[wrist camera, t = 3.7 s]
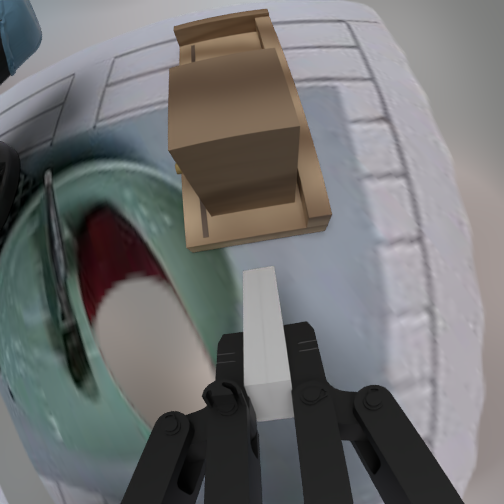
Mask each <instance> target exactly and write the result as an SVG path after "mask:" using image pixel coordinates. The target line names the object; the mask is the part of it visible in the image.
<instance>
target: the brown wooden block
mask: <svg viewBox="0 0 504 504" xmlns="http://www.w3.org/2000/svg"><path fill="white" fill-rule="evenodd" d="M299 137H300V124H299V120H298V117H297V114H296V110H295V107H294V104H293V101H292V97H291V94H290V91H289V88H288V85H287V82H286V79H285V76H284V73H283V70H282V67H281V64H280V61H279V58H278V55H277V52H276V49H275V48H267V49H260V50H253V51H246V52H240V53H234V54H229V55H224V56H219V57H214V58H209V59H204V60H200V61H196V62H192V63H188V64H184V65H180V66H176V67H172V68H170V69H169V98H168V151H169V153H170V154H171V156H172V157H173V159H174V160H175V162H176V164H175V168H176V172H177V174H182V173H183V174H184V176H185V177H186V179H187V180H188V182H189V183H190V185H191V186H192V188H193V190H194V191H195V193H196V194H197V196H198V197H199V199H200V200H201V202H202V203H203V205H204V206H205V208H206V209H207V211H208V212H209V214H210V215H211V217H212V216H218V215H223V214H229V213H234V212H240V211H246V210H252V209H257V208H263V207H269V206H276V205H282V204H288V203H294V202H295V193H296V180H297V167H298V152H299Z"/></svg>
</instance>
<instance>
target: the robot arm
mask: <svg viewBox="0 0 504 504" xmlns="http://www.w3.org/2000/svg"><path fill="white" fill-rule="evenodd" d="M41 40H42V31H41V27H40V25H39V22H38V20H37V17H36V15H35V12H34V10H33V8H32V5H31V3H30V1H29V0H0V85H1V84H2V83H3V82H4V81H5V80H6V79H7V78H8V77H9V76H10V75H11V76H13V75H14V74H15V73H16V70H17V69H18V68H19V67H20V66H21V65H22V64H23V63H24V62H25V61H26V60H27V59H28V58H29V57H30V56H31V55H32V54H34V53H35V52H36V50H37V49H38V48H39V46H40V44H41ZM19 173H20V161H19V156H18V154H17V152H16V151H15V150H14V149H13V148H12V147H10V146H9V145H8V144H6V143H5V142H3V141H0V230H1V228H2V226H3V224H4V222H5V220H6V218H7V216H8V213H9V211H10V208H11V206H12V203H13V200H14V197H15V193H16V190H17V186H18V181H19ZM202 397H203V399H204V401H205V403H206V404H207V406H206V407H205V408H203V409H201V410H199V411H196V412H194V413H191V414H188V415H184V414H183V413H180V412H177V411H175V412H174V411H171V412H167V413H165V414H163V415H162V416H160V417H159V419H158V420H157V421H156V423H155V425H154V428H153V430H152V432H151V434H150V437H149V439H148V441H147V444H146V446H145V448H144V450H143V453H142V455H141V457H140V460H139V462H138V464H137V467H136V469H135V471H134V474H133V476H132V478H131V481H130V483H129V485H128V488H127V490H126V492H125V495H124V497H123V500H122V502H121V504H195V503H196V500H197V497H198V494H199V490H200V487H201V484H202V481H203V478H204V475H205V493H204V504H262V486H261V467H260V447H259V434H258V430H257V424H256V419H257V421H258V422H262V421H270V420H278V419H286V418H293V417H294V418H295V427H296V435H297V443H298V451H299V460H300V469H301V477H302V486H303V495H304V504H353V499H352V493H351V487H350V482H349V477H348V471H347V466H346V461H345V456H344V451H343V446H342V441H341V440H349V441H351V443H352V445H353V447H354V448H355V450H356V452H357V454H358V456H359V458H360V459H361V461H362V463H363V465H364V467H365V469H366V470H367V472H368V474H369V476H370V478H371V480H372V481H373V483H374V485H375V487H376V489H377V490H378V492H379V494H380V496H381V498H382V500H383V501H384V503H385V504H464V502H463V501H462V499H461V498H460V496H459V494H458V493H457V491H456V490H455V488H454V487H453V485H452V483H451V482H450V480H449V479H448V477H447V476H446V474H445V473H444V471H443V470H442V468H441V467H440V465H439V464H438V462H437V460H436V459H435V457H434V456H433V454H432V453H431V451H430V450H429V448H428V447H427V445H426V444H425V442H424V441H423V440H422V438H421V437H420V435H419V434H418V432H417V431H416V429H415V428H414V426H413V425H412V423H411V422H410V420H409V419H408V417H407V416H406V415H405V413H404V412H403V410H402V409H401V407H400V406H399V404H398V403H397V402H396V400H395V399H394V397H393V396H392V394H391V393H390V392H389V391H388V390H387V389H386V388H384V387H382V386H379V385H370V386H366V387H364V388H362V389H361V390H359V391H358V392H348V391H341V390H338V389H335V388H334V387H332V386H331V385H330V384H329V383H328V382H327V380H326V377H325V373H324V369H323V365H322V361H321V356H320V352H319V349H318V344H317V341H316V336H315V332H314V329H313V328H312V327H311V326H310V324H309V323H308V322H307V321H306V322H300V323H294V324H288V325H283V320H282V314H281V307H280V301H279V294H278V288H277V282H276V276H275V270H274V266H270V267H264V268H258V269H252V270H246V271H243V332H239V333H231V334H223V336H222V338H221V340H220V341H219V343H218V350H217V365H216V380H215V381H214V382H212V383H211V384H209V385H208V386H207V387H206V388H205V390H204V392H203V395H202Z"/></svg>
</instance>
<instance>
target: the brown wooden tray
mask: <svg viewBox="0 0 504 504" xmlns="http://www.w3.org/2000/svg"><path fill="white" fill-rule="evenodd" d="M174 33H175V36H176V38H177V41H178V44H179V46H180V59H179V66H180V65H184V64H188V63H192V62H196V61H200V60H204V59H209V58H214V57H219V56H224V55H229V54H234V53H240V52H246V51H253V50H260V49H267V48H275V49H276V52H277V55H278V58H279V61H280V64H281V67H282V70H283V73H284V76H285V79H286V82H287V85H288V88H289V91H290V94H291V97H292V101H293V104H294V107H295V110H296V114H297V117H298V120H299V124H300V137H299V152H298V167H297V180H296V193H295V202H294V203H288V204H282V205H276V206H269V207H263V208H257V209H252V210H246V211H240V212H234V213H229V214H223V215H218V216H212V217H211V215H210V214H209V212H208V211H207V209H206V208H205V206H204V205H203V203H202V202H201V200H200V199H199V197H198V196H197V194H196V193H195V191H194V190H193V188H192V186H191V185H190V183H189V182H188V180H187V179H186V177H185V176H184V174H183V173H182V193H183V208H184V222H185V235H186V247H187V248H188V249H189V250H190V251H191V252H192V253H193V252H199V251H205V250H211V249H217V248H222V247H228V246H234V245H240V244H246V243H252V242H258V241H264V240H271V239H277V238H283V237H289V236H295V235H301V234H307V233H314V232H320V231H325V230H326V227H327V225H328V223H329V220H330V218H331V216H332V212H331V208H330V204H329V199H328V195H327V192H326V188H325V184H324V180H323V176H322V172H321V169H320V165H319V161H318V158H317V154H316V151H315V147H314V144H313V140H312V137H311V134H310V130H309V127H308V124H307V121H306V117H305V114H304V111H303V108H302V105H301V102H300V99H299V96H298V93H297V90H296V87H295V84H294V81H293V78H292V75H291V72H290V69H289V67H288V64H287V61H286V58H285V56H284V53H283V50H282V48H281V45H280V42H279V40H278V37H277V35H276V32H275V30H274V27H273V25H272V22H271V20H270V17H269V12H268V10H267V9H260V10H252V11H245V12H239V13H233V14H227V15H221V16H216V17H211V18H207V19H202V20H198V21H193V22H189V23H185V24H181V25H178V26H174Z"/></svg>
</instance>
